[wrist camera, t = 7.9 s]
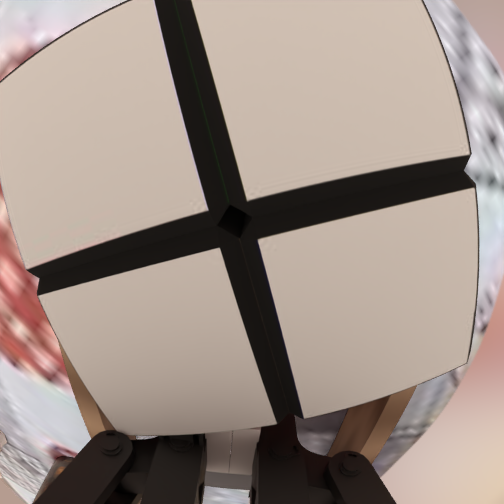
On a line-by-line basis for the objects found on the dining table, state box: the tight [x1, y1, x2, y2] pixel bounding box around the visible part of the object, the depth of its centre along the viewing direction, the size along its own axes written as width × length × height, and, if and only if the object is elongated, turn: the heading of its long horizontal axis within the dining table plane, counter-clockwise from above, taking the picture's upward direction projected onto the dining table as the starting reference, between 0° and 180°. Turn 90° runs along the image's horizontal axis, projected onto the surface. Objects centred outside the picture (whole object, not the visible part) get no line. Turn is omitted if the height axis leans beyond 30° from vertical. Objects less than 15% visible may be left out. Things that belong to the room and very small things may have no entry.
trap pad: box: [205, 454, 252, 490], centre depth 21 cm, size 6×12×1 cm, turn 85°
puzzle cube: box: [0, 0, 479, 436], centre depth 10 cm, size 10×10×10 cm
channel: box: [58, 341, 417, 504], centre depth 17 cm, size 20×19×4 cm
